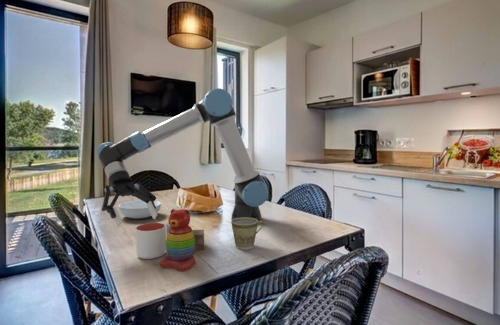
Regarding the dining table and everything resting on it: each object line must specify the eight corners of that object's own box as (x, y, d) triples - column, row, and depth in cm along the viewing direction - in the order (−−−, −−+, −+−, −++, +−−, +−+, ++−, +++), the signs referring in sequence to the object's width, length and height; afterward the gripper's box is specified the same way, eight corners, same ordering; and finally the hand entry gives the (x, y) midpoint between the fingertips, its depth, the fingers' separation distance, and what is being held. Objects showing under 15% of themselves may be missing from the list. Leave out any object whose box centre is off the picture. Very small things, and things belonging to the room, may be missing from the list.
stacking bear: (156, 267, 93) (155, 211, 92) (175, 255, 102) (174, 205, 101) (185, 272, 89) (184, 215, 88) (202, 259, 99) (202, 207, 97)
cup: (149, 262, 96) (148, 233, 95) (130, 256, 101) (129, 228, 101) (172, 252, 105) (171, 225, 104) (153, 247, 110) (152, 221, 109)
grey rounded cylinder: (184, 239, 119) (184, 222, 118) (178, 244, 113) (177, 226, 112) (170, 238, 120) (170, 221, 119) (163, 243, 114) (163, 225, 113)
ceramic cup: (237, 253, 104) (237, 225, 103) (227, 244, 113) (227, 218, 112) (269, 248, 109) (269, 221, 108) (258, 239, 118) (258, 215, 117)
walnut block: (204, 244, 113) (203, 229, 112) (204, 250, 107) (204, 234, 107) (188, 245, 112) (187, 230, 112) (187, 251, 106) (187, 235, 106)
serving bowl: (133, 224, 139) (133, 210, 139) (111, 217, 152) (110, 204, 152) (169, 215, 156) (169, 202, 155) (146, 210, 169) (146, 198, 168)
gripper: (144, 178, 126) (164, 219, 117) (81, 185, 107) (99, 234, 99) (150, 167, 122) (172, 208, 113) (86, 172, 103) (106, 222, 95)
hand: (138, 220), depth 106 cm, fingers open, 13 cm apart
